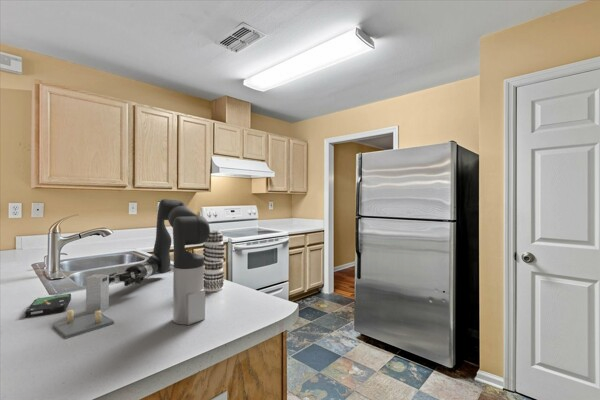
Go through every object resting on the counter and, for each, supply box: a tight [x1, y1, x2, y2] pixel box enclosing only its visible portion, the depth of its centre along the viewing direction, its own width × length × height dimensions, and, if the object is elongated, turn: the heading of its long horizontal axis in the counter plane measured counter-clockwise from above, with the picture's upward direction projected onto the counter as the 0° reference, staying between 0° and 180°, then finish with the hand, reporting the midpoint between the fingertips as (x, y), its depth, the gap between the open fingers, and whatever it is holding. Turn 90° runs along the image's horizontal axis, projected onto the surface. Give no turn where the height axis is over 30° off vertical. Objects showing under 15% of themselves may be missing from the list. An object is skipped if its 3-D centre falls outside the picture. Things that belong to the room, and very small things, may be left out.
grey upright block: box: [85, 273, 110, 314], centre depth 100 cm, size 5×4×12 cm
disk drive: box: [24, 293, 72, 319], centre depth 102 cm, size 10×3×15 cm
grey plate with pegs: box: [52, 309, 115, 339], centre depth 89 cm, size 12×12×4 cm
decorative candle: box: [202, 229, 226, 292], centre depth 126 cm, size 9×9×25 cm
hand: (114, 283), depth 109 cm, fingers open, 8 cm apart
